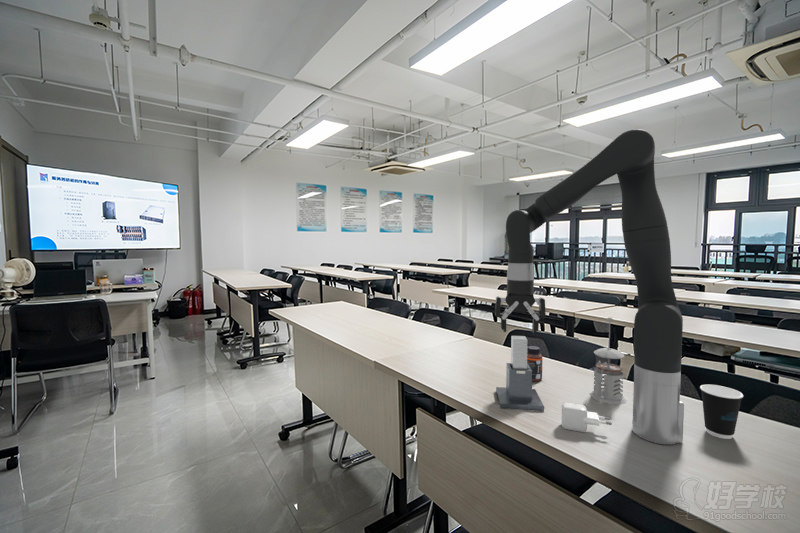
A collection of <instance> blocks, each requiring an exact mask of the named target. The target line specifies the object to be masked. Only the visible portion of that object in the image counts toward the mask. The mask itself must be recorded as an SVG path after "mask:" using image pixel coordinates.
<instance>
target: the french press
mask: <svg viewBox="0 0 800 533" xmlns="http://www.w3.org/2000/svg"><path fill="white" fill-rule="evenodd" d="M605 321H606V322H608V324H609V327H608V329H609V330H608V347H603V348H597V349H596V350H594V351H593V353H594V355H595V356H596V357H600V358H602V359H607V360H608V363H607V361H604V362H601V361H602V360H598V362H597V363H595V367H594V369H593V391H591V392H590V394H589V396H590V398H592V399H594V400H596V401H598V402H601V403H603V404H609V405H623V404H626V403H627V399H626V398H625V397H624V394H623V393H624V390H623V388H624V381H623V380H624V373H623V368H622V367H621V366H620V365H618V364H614V363H610V360H621V359H623V358H625V354H624V353H622V352H621V351H619V350H617V349H615V348H610V344H611V343H610V342H611V341H610V340H611V323H613V322H614V318H612V317H607V318H606V320H605Z"/></svg>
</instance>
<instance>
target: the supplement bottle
mask: <svg viewBox="0 0 800 533" xmlns="http://www.w3.org/2000/svg"><path fill="white" fill-rule="evenodd" d="M540 350H541V349H540V347H538V346H536V345H530V346H527V364H528V365H529V367H530V368H531V370H532V382H540V381H542V380H543V355H542V354H541V353H540V352H541V351H540Z"/></svg>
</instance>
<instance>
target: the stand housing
mask: <svg viewBox="0 0 800 533" xmlns="http://www.w3.org/2000/svg"><path fill="white" fill-rule="evenodd" d="M505 371H506V376H505V377H506V378H505V379H506V380H505V381H506V384H505V385H506V386H505V387H504V386H503V387H499V386H496V387H495V392H496V396H497V400H498V404H499V407H500V409H501V410H516V411H517V410H520V411H533V412H545V406H544V403H543V402H542V400H541V398H540V396H539V394H538V392H537V390H536V389H535V388H533V381H532V370H531V368H530V367H529V365H528V364H527V370H516V369H511V362H506V369H505Z"/></svg>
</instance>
